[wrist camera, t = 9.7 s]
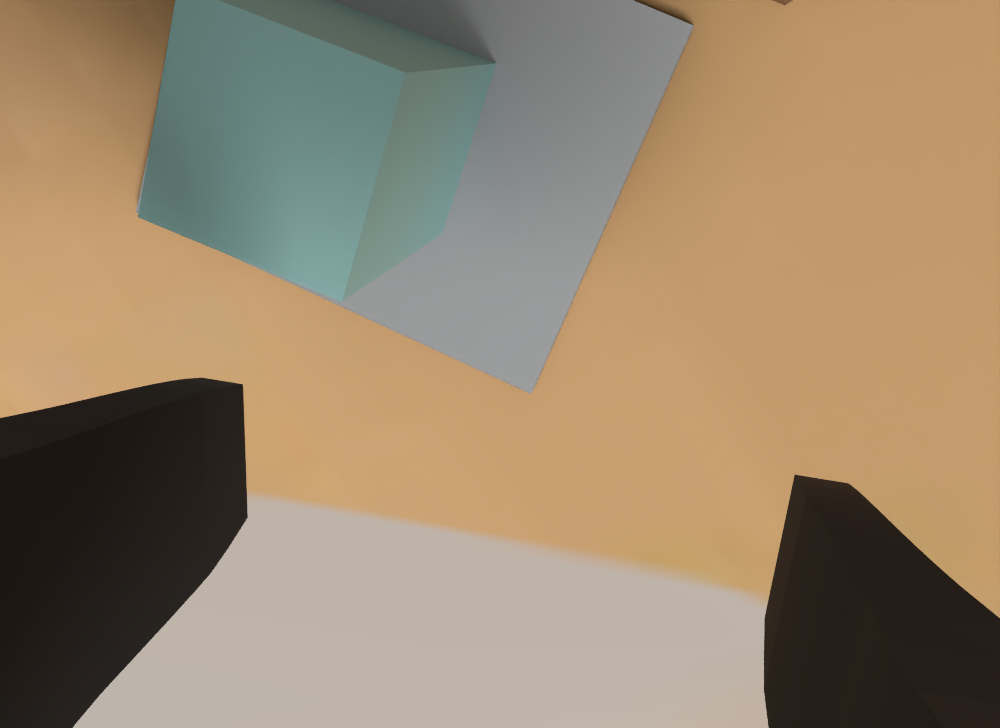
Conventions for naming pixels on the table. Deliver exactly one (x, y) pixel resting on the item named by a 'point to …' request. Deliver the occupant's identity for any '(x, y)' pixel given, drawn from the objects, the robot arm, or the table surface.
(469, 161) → the slate mat
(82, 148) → the table surface
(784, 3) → the walnut pen
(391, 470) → the table surface
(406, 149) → the teal block
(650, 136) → the table surface
